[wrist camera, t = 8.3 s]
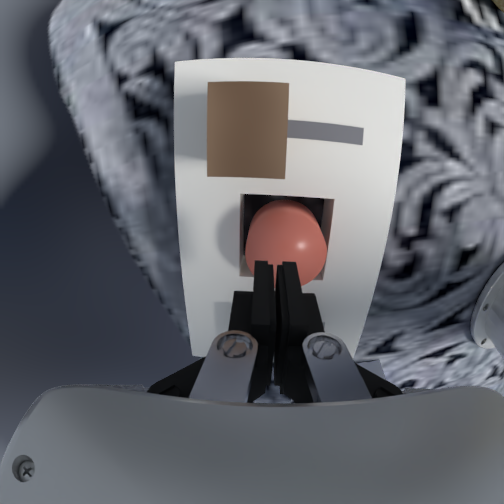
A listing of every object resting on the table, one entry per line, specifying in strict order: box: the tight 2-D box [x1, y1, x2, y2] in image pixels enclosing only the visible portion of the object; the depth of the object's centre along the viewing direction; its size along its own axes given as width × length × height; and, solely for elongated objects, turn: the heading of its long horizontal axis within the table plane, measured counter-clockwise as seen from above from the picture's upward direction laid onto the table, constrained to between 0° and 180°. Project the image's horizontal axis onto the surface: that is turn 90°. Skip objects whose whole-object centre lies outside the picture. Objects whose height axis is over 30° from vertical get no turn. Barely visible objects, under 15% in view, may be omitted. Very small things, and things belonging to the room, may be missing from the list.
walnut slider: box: [207, 81, 289, 179], centre depth 13 cm, size 3×4×4 cm
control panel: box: [174, 58, 405, 358], centre depth 18 cm, size 13×21×4 cm, turn 179°
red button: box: [245, 200, 327, 286], centre depth 17 cm, size 4×4×3 cm
